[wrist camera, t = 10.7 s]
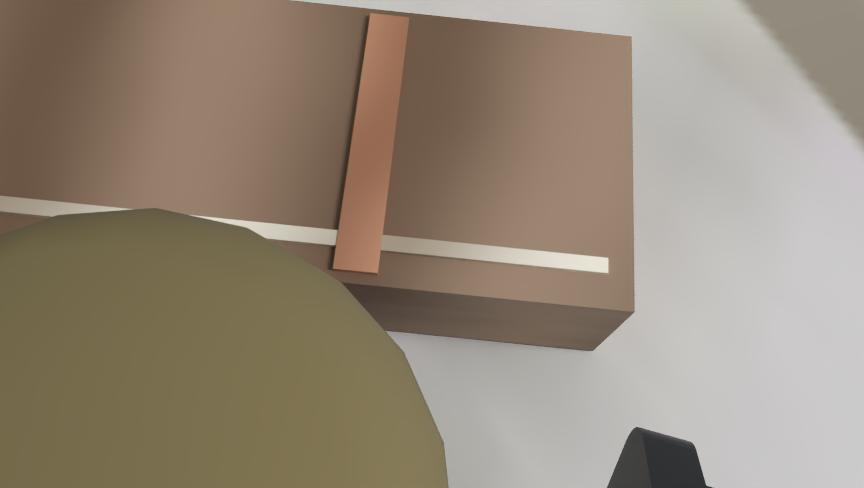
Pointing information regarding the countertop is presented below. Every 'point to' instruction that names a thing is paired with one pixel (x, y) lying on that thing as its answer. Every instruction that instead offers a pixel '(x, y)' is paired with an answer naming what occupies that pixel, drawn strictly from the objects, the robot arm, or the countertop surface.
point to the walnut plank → (344, 149)
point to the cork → (195, 364)
